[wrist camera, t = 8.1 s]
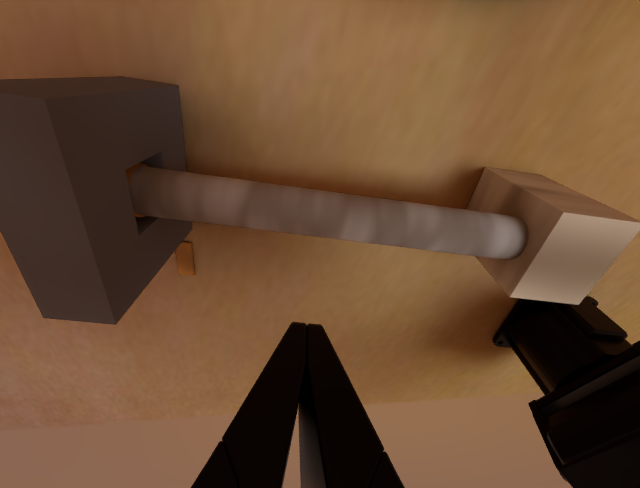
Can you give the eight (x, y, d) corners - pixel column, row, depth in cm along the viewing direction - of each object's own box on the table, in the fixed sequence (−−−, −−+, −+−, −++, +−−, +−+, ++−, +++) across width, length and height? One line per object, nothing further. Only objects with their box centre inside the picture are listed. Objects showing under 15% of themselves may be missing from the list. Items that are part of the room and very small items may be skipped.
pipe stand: (470, 303, 25) (519, 377, 19) (27, 255, 22) (-81, 325, 16) (541, 175, 19) (645, 223, 13) (-50, 87, 16) (-267, 97, 10)
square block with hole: (192, 228, 20) (115, 324, 13) (148, 223, 20) (43, 317, 12) (178, 85, 16) (44, 99, 8) (121, 76, 16) (-73, 81, 8)
